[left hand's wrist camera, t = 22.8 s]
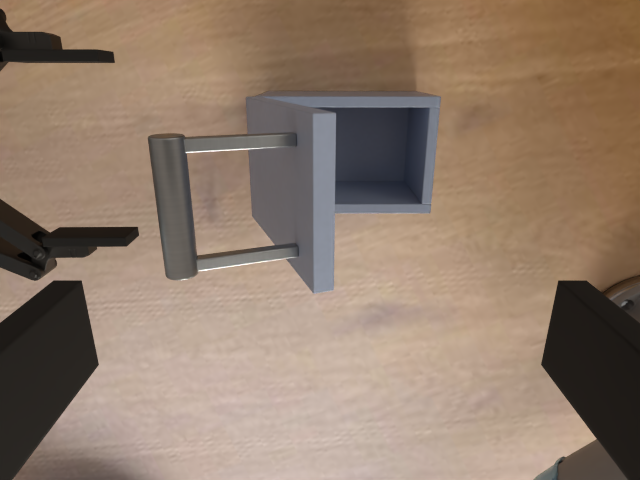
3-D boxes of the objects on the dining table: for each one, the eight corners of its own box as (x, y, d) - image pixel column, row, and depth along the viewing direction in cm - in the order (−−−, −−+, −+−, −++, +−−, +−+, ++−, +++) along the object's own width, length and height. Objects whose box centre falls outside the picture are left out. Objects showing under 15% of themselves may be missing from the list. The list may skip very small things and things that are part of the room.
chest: (416, 91, 44) (441, 96, 35) (409, 186, 48) (430, 213, 39) (267, 90, 44) (254, 96, 35) (271, 186, 48) (260, 213, 39)
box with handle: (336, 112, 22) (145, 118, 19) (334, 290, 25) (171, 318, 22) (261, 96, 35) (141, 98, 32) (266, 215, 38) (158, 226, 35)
